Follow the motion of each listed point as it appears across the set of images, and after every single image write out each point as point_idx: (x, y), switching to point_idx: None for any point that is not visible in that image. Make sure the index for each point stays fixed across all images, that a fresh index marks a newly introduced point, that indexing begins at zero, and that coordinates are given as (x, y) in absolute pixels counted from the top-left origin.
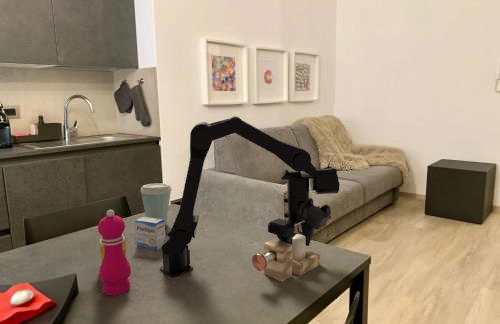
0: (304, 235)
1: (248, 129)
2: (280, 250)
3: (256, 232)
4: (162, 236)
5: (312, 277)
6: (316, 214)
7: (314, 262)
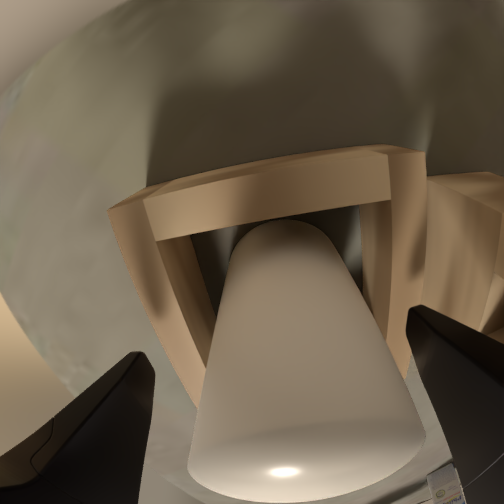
0: (133, 450)
1: None
2: None
3: None
4: (441, 488)
5: (330, 73)
6: None
7: (203, 177)
